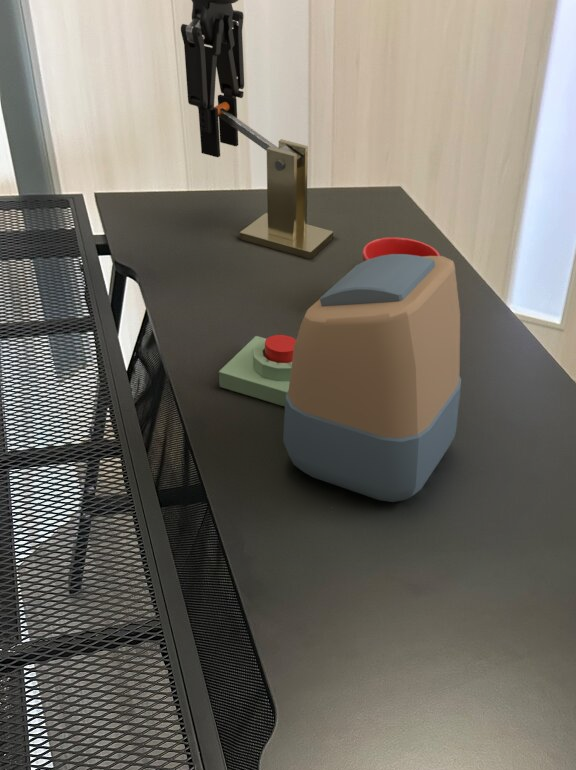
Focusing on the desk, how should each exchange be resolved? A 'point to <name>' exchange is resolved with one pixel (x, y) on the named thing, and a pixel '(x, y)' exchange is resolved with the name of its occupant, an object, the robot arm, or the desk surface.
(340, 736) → the desk surface
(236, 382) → the button box
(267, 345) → the button
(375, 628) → the desk surface
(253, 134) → the switch lever
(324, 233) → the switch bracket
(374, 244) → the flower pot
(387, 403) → the lidded trash bin
